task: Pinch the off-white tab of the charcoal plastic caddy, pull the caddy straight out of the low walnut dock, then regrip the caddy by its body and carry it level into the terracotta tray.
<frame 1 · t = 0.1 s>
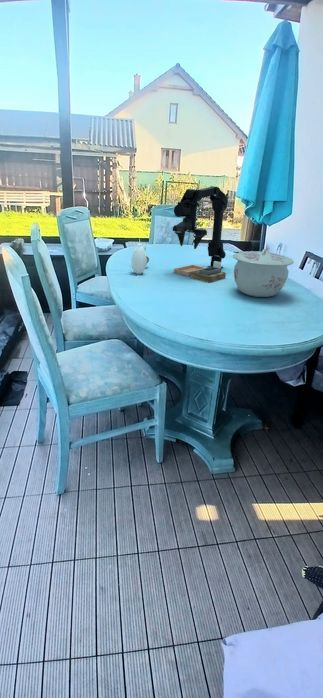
hand: (188, 247, 199), 15 cm above the table, tool pointing down, fingers open, 9 cm apart
cupcake: (141, 267, 215), on the table
chamber pot: (257, 293, 181), on the table
tray: (190, 272, 211), on the table
caddy: (209, 278, 202), resting in dock
sauce bottle: (138, 274, 203), on the table
dock: (209, 277, 202), on the table
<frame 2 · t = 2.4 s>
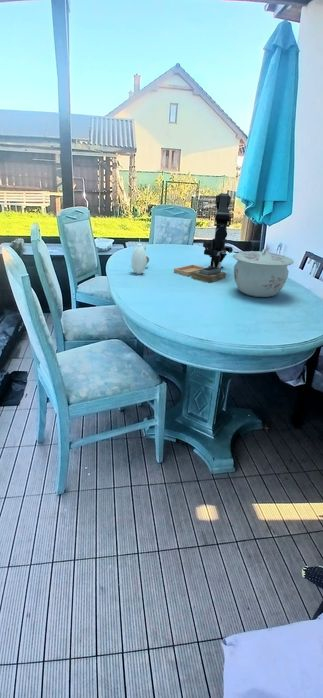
hand: (216, 267, 204), 5 cm above the table, tool pointing down, fingers closed on caddy
caddy: (209, 277, 202), resting in dock, touching gripper
everything else where it was.
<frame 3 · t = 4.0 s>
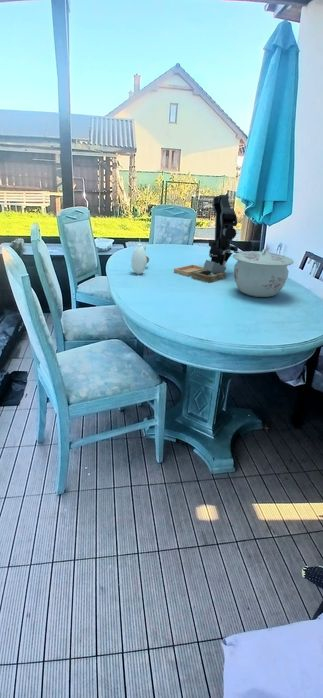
hand: (222, 265, 207), 5 cm above the table, tool pointing down, fingers closed on caddy, 2 cm apart
caddy: (213, 272, 204), point 2 cm above the table, tilted 21°, touching gripper
everything else where it was.
when the fingers open (5 cm above the table, at t = 5.7 s): caddy drops 3 cm, on the table.
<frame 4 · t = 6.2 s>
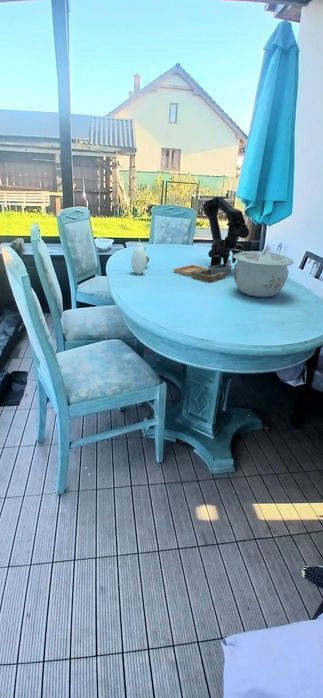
hand: (229, 264, 212), 5 cm above the table, tool pointing down, fingers open, 8 cm apart
caddy: (220, 275, 209), on the table
everything else where it was.
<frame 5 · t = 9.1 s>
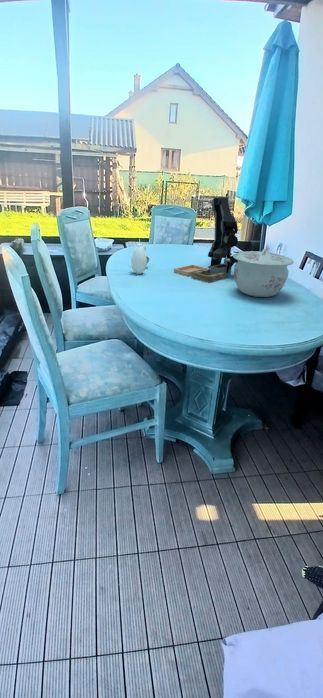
hand: (222, 272, 210), 1 cm above the table, tool pointing down, fingers closed on caddy, 6 cm apart
caddy: (220, 275, 209), on the table, touching gripper
everything else where it was.
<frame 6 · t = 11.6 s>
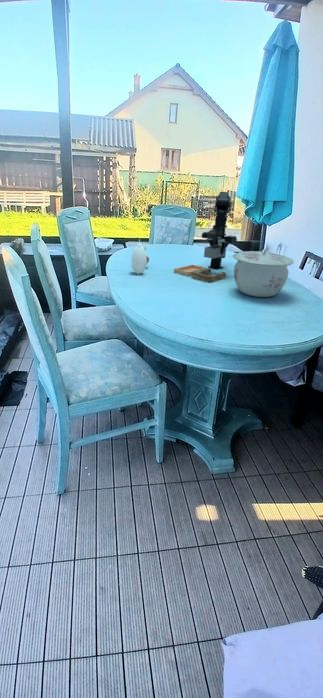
hand: (217, 253, 206), 11 cm above the table, tool pointing down, fingers closed on caddy, 5 cm apart
caddy: (214, 256, 205), point 10 cm above the table, touching gripper
everything else where it was.
when the fingers open (3 cm above the table, at t = 14.3 s): caddy stays where it is, resting on tray.
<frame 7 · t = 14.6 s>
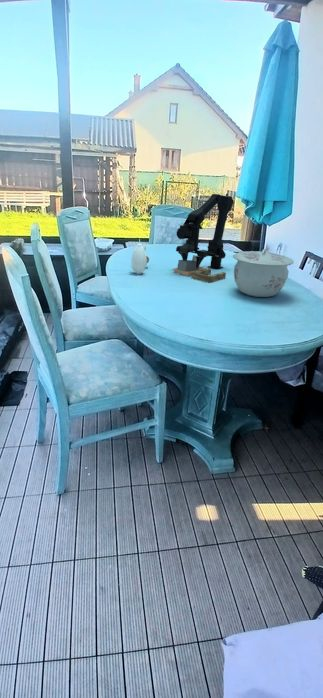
hand: (190, 266, 210), 3 cm above the table, tool pointing down, fingers open, 8 cm apart
caddy: (187, 270, 209), point 1 cm above the table, tilted 8°, touching tray
everything else where it was.
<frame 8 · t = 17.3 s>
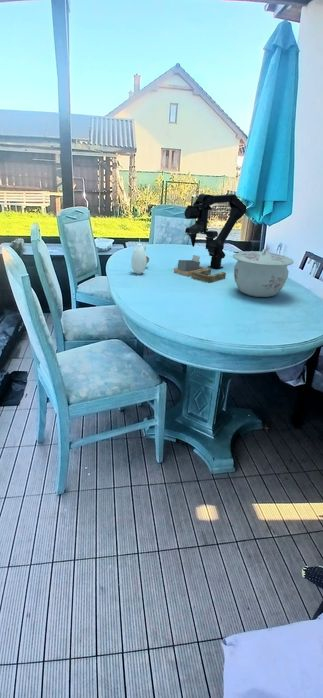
hand: (199, 247, 214), 12 cm above the table, tool pointing down, fingers open, 9 cm apart
nothing on the table moved.
at the end: caddy 2.3 cm off-centre on the tray, point 1.5 cm above the tray's base; caddy tilted 8°; the gripper is holding nothing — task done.
